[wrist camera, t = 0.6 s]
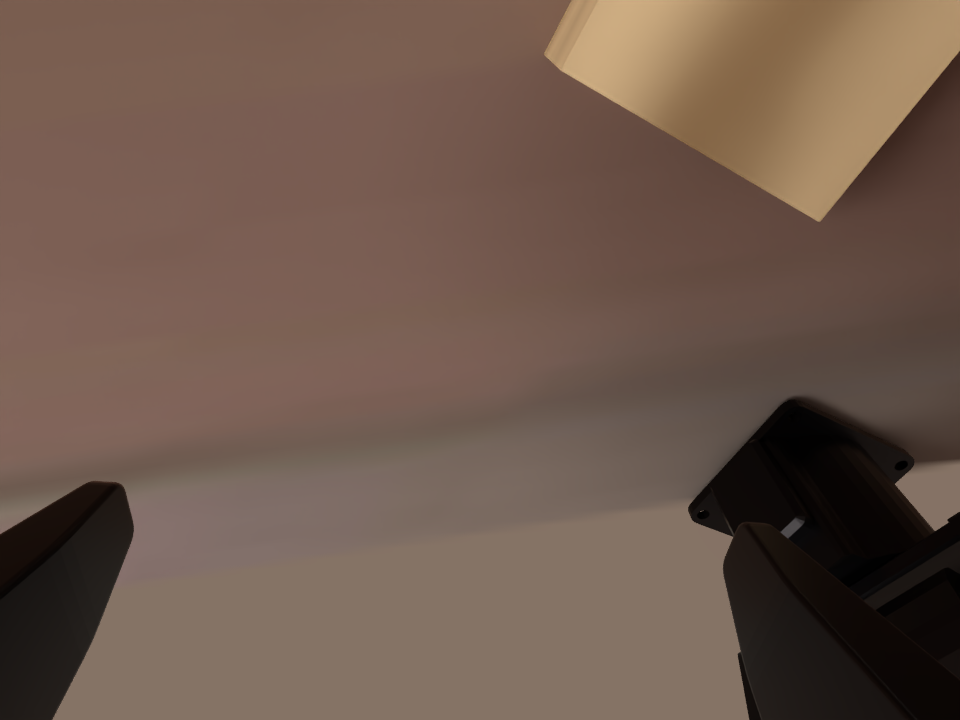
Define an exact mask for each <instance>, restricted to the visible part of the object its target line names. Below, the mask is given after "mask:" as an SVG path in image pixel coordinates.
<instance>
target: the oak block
mask: <svg viewBox="0 0 960 720" xmlns="http://www.w3.org/2000/svg"><path fill="white" fill-rule="evenodd" d="M959 51H960V0H572V1H571V3H570V5H569V7H568V8H567V10H566V12H565V14H564V16H563V18H562V20H561V22H560V24H559V26H558V28H557V30H556V32H555V34H554V36H553V37H552V39H551V41H550V43H549V45H548V47H547V49H546V51H545V53H544V55H545V56H546V57H547V58H548V59H549V60H550V61H551V62H552V63H553V64H555V65H556V66H557V67H558V68H559V69H560V70H561V71H563V72H564V73H566V74H568V75H569V76H571V77H573V78H574V79H576V80H578V81H580V82H581V83H583V84H585V85H586V86H588V87H590V88H592V89H593V90H595V91H597V92H598V93H600V94H602V95H603V96H605V97H607V98H609V99H610V100H612V101H614V102H615V103H617V104H619V105H620V106H622V107H624V108H626V109H627V110H629V111H631V112H632V113H634V114H636V115H638V116H639V117H641V118H643V119H644V120H646V121H648V122H649V123H651V124H653V125H655V126H656V127H658V128H660V129H661V130H663V131H665V132H666V133H668V134H670V135H672V136H673V137H675V138H677V139H678V140H680V141H682V142H683V143H685V144H687V145H689V146H690V147H692V148H694V149H695V150H697V151H699V152H701V153H702V154H704V155H706V156H707V157H709V158H711V159H712V160H714V161H716V162H718V163H719V164H721V165H723V166H724V167H726V168H728V169H729V170H731V171H733V172H735V173H736V174H738V175H740V176H741V177H743V178H745V179H747V180H748V181H750V182H752V183H753V184H755V185H757V186H758V187H760V188H762V189H764V190H765V191H767V192H769V193H770V194H772V195H774V196H775V197H777V198H779V199H781V200H782V201H784V202H786V203H787V204H789V205H791V206H793V207H794V208H796V209H798V210H799V211H801V212H803V213H804V214H806V215H808V216H810V217H811V218H813V219H815V220H816V221H818V222H820V221H821V220H822V219H823V217H824V216H825V215H826V214H827V213H828V211H829V210H830V209H831V208H832V206H833V205H834V204H835V203H836V202H837V200H838V199H839V198H840V197H841V195H842V194H843V193H844V192H845V191H846V189H847V188H848V187H849V186H850V184H851V183H852V182H853V181H854V180H855V178H856V177H857V176H858V175H859V173H860V172H861V171H862V170H863V169H864V167H865V166H866V165H867V164H868V162H869V161H870V160H871V159H872V158H873V156H874V155H875V154H876V153H877V151H878V150H879V149H880V148H881V147H882V145H883V144H884V143H885V142H886V140H887V139H888V138H889V137H890V136H891V134H892V133H893V132H894V131H895V129H896V128H897V127H898V126H899V125H900V123H901V122H902V121H903V120H904V118H905V117H906V116H907V115H908V114H909V112H910V111H911V110H912V109H913V107H914V106H915V105H916V104H917V103H918V101H919V100H920V99H921V98H922V96H923V95H924V94H925V93H926V92H927V90H928V89H929V88H930V87H931V85H932V84H933V83H934V82H935V81H936V79H937V78H938V77H939V76H940V74H941V73H942V72H943V71H944V70H945V68H946V67H947V66H948V65H949V63H950V62H951V61H952V60H953V59H954V57H955V56H956V55H957V54H958V52H959Z"/></svg>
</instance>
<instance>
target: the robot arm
mask: <svg viewBox="0 0 960 720" xmlns="http://www.w3.org/2000/svg"><path fill="white" fill-rule="evenodd" d="M793 412H796V413H795V414H794V415H792V416H789V415H790V414H791V413H793ZM914 463H915V462H914V459H913V458H912V457H911V456H910V454H909V453H908V452H906V451H905V450H904V449H901V448H899V447H897V446H895V445H893V444H891V443H889V442H886V441H884V440H882V439H880V438H878V437H876V436H873V435H871V434H869V433H867V432H865V431H863V430H861V429H858V428H856V427H854V426H852V425H850V424H848V423H846V422H843V421H841V420H839V419H837V418H835V417H833V416H831V415H828V414H826V413H824V412H822V411H820V410H818V409H816V408H813V407H811V406H809V405H807V404H805V403H803V402H801V401H797V400H789V401H787V402H785V403H783V404H782V405H781V406H780V407H779V408H778V409H777V410H776V411H775V412H774V413H773V414H772V415H771V416H770V418H769V419H768V420H767V421H766V422H765V423H764V424H763V425H762V426H761V427H760V428H759V430H758V431H757V432H756V433H755V434H754V435H753V436H752V437H751V438H750V439H749V440H748V442H747V443H746V444H745V445H744V446H743V447H742V448H741V449H740V450H739V451H738V452H737V454H736V455H735V456H734V457H733V458H732V459H731V460H730V461H729V462H728V463H727V465H726V466H725V467H724V468H723V469H722V470H721V471H720V472H719V473H718V474H717V475H716V477H715V478H714V479H713V480H712V481H711V482H710V483H709V484H708V485H707V486H706V487H705V489H704V490H703V491H702V492H701V493H700V494H699V495H698V496H697V497H696V498H695V499H694V501H693V502H692V503H691V504H690V505H689V507H688V512H689V514H690V516H691V518H692V520H693V521H694V522H696V523H698V524H701V525H703V526H706V527H709V528H711V529H714V530H717V531H719V532H722V533H725V534H727V535H730V536H733V539H732V542H731V544H730V546H729V549H728V551H727V554H726V556H725V559H724V564H723V574H724V579H725V583H726V588H727V592H728V597H729V601H730V606H731V610H732V614H733V619H734V623H735V628H736V632H737V636H738V641H739V645H740V650H741V652H740V653H738V659H739V665H740V670H741V676H742V681H743V686H744V693H745V698H746V704H747V709H748V714H749V720H960V512H958V513H957V514H955V515H954V516H952V517H951V518H949V519H948V522H949V523H948V524H946V525H944V526H943V527H941V528H940V529H938V530H937V531H934V530H933V529H932V528H931V527H930V525H929V524H928V523H927V522H926V520H925V519H924V518H923V517H922V516H921V515H920V513H918V511H917V510H916V509H915V508H914V506H913V505H912V504H911V503H910V502H909V501H908V499H907V498H906V497H905V496H904V495H903V494H902V492H901V491H900V490H899V489H898V488H897V487H896V485H895V483H896V482H897V481H898V480H899V479H900V478H902V477H903V476H904V475H905V474H906V473H907V472H908V471H909V470H911V468H912V467H913V466H914ZM703 510H704V511H703ZM700 511H702V512H700ZM133 532H134V525H133V520H132V516H131V512H130V508H129V504H128V500H127V496H126V492H125V489H124V487H123V486H122V485H121V484H119V483H117V482H102V481H91V482H88V483H86V484H84V485H82V486H80V487H79V488H77V489H75V490H74V491H72V492H70V493H69V494H67V495H65V496H64V497H62V498H60V499H59V500H57V501H55V502H54V503H52V504H50V505H48V506H47V507H45V508H43V509H42V510H40V511H38V512H37V513H35V514H33V515H32V516H30V517H28V518H27V519H25V520H23V521H22V522H20V523H18V524H17V525H15V526H13V527H12V528H10V529H8V530H7V531H5V532H3V533H2V534H0V720H52V719H53V717H54V715H55V713H56V711H57V709H58V708H59V706H60V704H61V702H62V700H63V698H64V696H65V694H66V692H67V690H68V688H69V686H70V684H71V682H72V681H73V678H74V677H75V675H76V673H77V671H78V669H79V667H80V665H81V663H82V661H83V659H84V657H85V655H86V653H87V651H88V649H89V647H90V645H91V643H92V640H93V638H94V636H95V633H96V631H97V628H98V626H99V624H100V621H101V619H102V616H103V613H104V611H105V608H106V606H107V603H108V601H109V598H110V596H111V593H112V590H113V588H114V585H115V583H116V580H117V578H118V575H119V572H120V570H121V567H122V565H123V562H124V559H125V557H126V554H127V552H128V549H129V547H130V544H131V541H132V538H133Z"/></svg>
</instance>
